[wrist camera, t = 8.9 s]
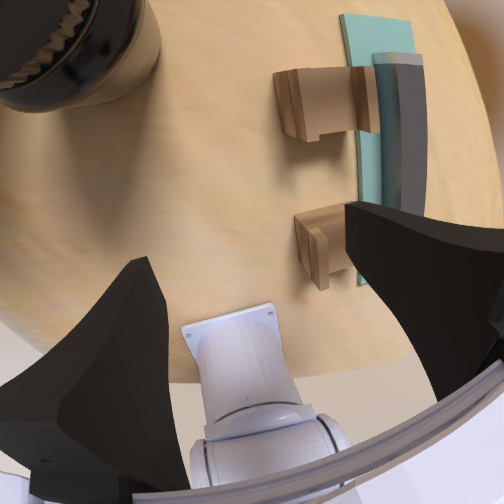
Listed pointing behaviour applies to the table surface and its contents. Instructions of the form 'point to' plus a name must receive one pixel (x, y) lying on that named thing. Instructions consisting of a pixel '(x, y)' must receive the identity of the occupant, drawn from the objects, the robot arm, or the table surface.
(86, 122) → the table surface
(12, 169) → the table surface
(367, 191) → the mat
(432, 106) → the table surface
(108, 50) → the supplement bottle
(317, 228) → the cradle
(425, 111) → the rail
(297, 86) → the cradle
